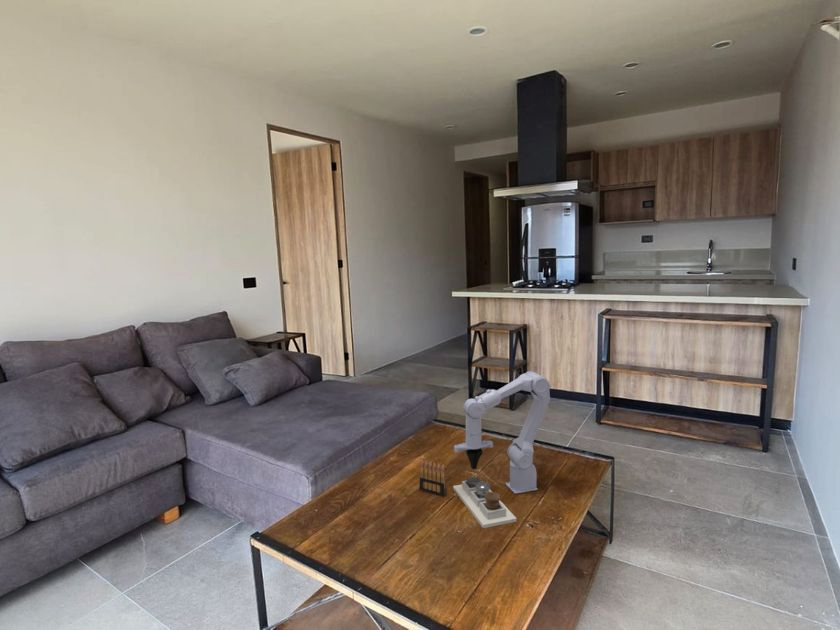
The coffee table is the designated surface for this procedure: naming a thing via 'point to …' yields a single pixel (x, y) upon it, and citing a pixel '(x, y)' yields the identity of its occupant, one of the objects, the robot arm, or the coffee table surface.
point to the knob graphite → (472, 481)
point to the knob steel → (482, 488)
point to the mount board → (483, 507)
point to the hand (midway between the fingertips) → (473, 467)
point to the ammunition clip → (432, 479)
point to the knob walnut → (492, 500)
